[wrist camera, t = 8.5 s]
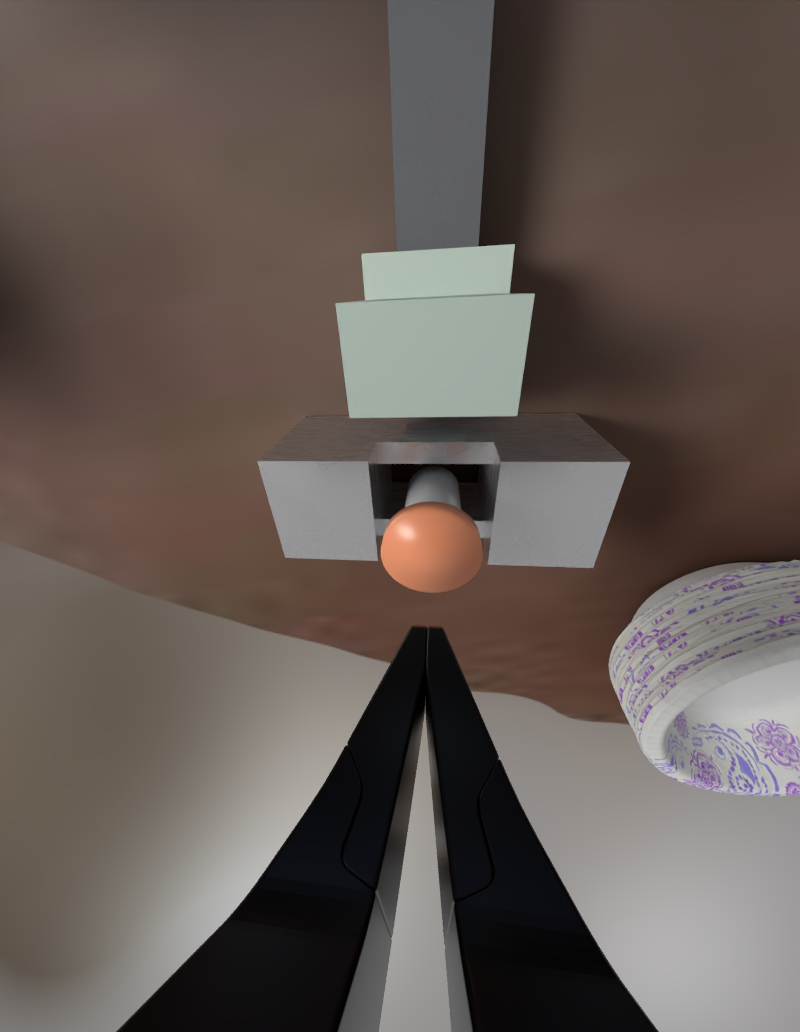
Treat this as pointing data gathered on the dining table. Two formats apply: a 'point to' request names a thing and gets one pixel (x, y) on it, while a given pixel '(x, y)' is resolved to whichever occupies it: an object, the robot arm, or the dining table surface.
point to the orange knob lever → (432, 536)
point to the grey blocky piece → (490, 503)
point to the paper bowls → (717, 678)
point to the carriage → (436, 335)
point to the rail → (439, 118)
